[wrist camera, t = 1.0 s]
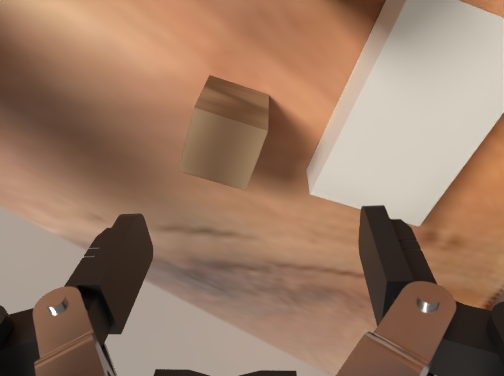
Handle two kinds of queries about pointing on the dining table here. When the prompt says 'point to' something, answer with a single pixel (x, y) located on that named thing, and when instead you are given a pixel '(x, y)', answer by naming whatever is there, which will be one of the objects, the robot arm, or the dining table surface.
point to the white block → (412, 108)
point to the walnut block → (226, 133)
